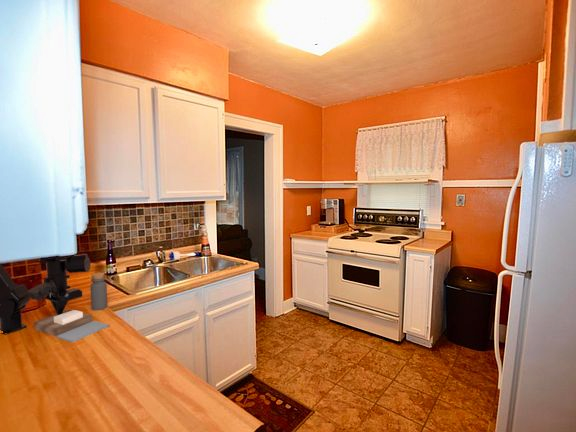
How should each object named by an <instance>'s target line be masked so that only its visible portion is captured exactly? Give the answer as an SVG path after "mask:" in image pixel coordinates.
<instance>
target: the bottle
mask: <svg viewBox="0 0 576 432" xmlns="http://www.w3.org/2000/svg"><path fill="white" fill-rule="evenodd" d="M105 280H106V276H105V272H99V271H98V272H95V273H92V274H91V279H90V281H91V282H92V283H91V284H90V286H89V288H90V306H91V307H90V308H91V310H92V311H100V310H104V309H106V308H108V287H107V282H106V281H105Z"/></svg>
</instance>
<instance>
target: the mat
mask: <svg viewBox="0 0 576 432" xmlns="http://www.w3.org/2000/svg"><path fill="white" fill-rule="evenodd" d="M108 327H110V324H109V323H105V322H101V321H97V320H92V322H90V323H87V324H85V325H82V326H80V327H77V328H75V329H72V330H70V331H68V332H65V333H63V334H60V335H58V336H56V338H57V339H60V340H63V341H67V342H69V343H75V342H77V341H79V340H81V339H83V338H86V337H89V336H91V335H93V334H95V333H97V332H100V331H101V330H103V329H106V328H108Z"/></svg>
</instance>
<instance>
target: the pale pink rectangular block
mask: <svg viewBox="0 0 576 432" xmlns="http://www.w3.org/2000/svg"><path fill="white" fill-rule="evenodd" d="M71 310H72V311H69V312H66V313H63V314H61V315H58V316H55V317H54V323H58V324H62V325H64V324H66V323H69V322H71V321H74V320H77V319H79V318H82V317H83V313H84V312H83V311H81V310H76V309H71Z"/></svg>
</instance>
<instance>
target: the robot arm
mask: <svg viewBox="0 0 576 432" xmlns="http://www.w3.org/2000/svg"><path fill="white" fill-rule="evenodd" d="M38 263H39V264H45V266H46V277H43V282H42V283H39V284H37V285H36V286H34V287H32V288H30V289H28V288H27V285H26V284H25V283H22V284H18V283H16V282H14V280H13V279H12V276H10V274H9V273H8V272H7V270H6V268H4V266H3V264H2V263H1V264H0V330H1V331H3V333H8V334H11V333H14V332H17V331H20V330H22V329H25V328H27V327H28V325H26V324H24V323H23V322H22V310H24V309H25V308H26V306H27V304H28V303H30V300H31V299H32V300H36V301H41V300H42V299H45V300H47V301H49V302H50V304H51V305H52V307H53V309H54V310H55V313H56V314H57V315H60V314H62V312H64V311H65V308H66V306H67V304H68V302H69V301H72V300H76V299H78V298H82V297H83V290H81V289H80V288H75V287H73V288H71V285H69V284H68V279H70V278H71V277H70V274H74V273H75V274H76V273H77V274H78V273H79V274H80V273H88V272H90V270H91V264H92V263H91V260H90V258H89V255H88V253H81V254H75V255H74V256H68V257H54V258H44V259H43V258H41V259H40V260H39V261H38ZM67 272H68V273H69V274H68V273H67Z"/></svg>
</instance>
